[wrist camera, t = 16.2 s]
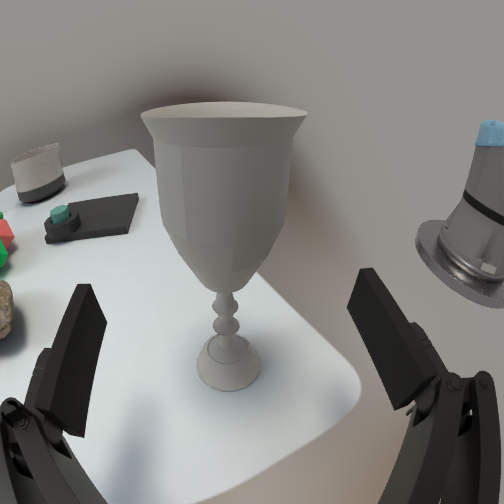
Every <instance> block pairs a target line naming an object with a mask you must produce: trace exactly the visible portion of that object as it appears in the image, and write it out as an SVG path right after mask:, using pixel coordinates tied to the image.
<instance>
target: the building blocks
mask: <svg viewBox="0 0 504 504" xmlns="http://www.w3.org/2000/svg"><path fill="white" fill-rule="evenodd" d="M13 239H14V235H13V233H12V231H11V229H10V227H9V225H8V223H7V221H6V220H5V219H4V220H3V213H2V212H0V270H1V268H2V266H3V264H4V262H5V260H6V258H7V256H8V252H7V249H8V248H9V246H10V244H11V242H12V240H13Z"/></svg>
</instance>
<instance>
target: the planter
mask: <svg viewBox="0 0 504 504" xmlns="http://www.w3.org/2000/svg"><path fill="white" fill-rule="evenodd" d="M11 168H12V173H13V177H14V181H15V185H16V189H17V193H18V197H19V200H20V201H22V202H36V201H40V200H42V199H45V198H47V197H49V196H51V195H52V194H54V193H55V192H56V191H57V190H58V189H59V188H60V187H61V186H62V185H63V184H64V183H65V177H64V172H63V167H62V162H61V156H60V150H59V145H58V144H51V145H47V146H43V147H40V148H37V149H34V150H32V151H30V152H27V153H25V154H23V155H21V156H19V157H17V158H16V159H14V160H13V161H11Z"/></svg>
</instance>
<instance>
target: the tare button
mask: <svg viewBox="0 0 504 504" xmlns="http://www.w3.org/2000/svg"><path fill="white" fill-rule="evenodd" d="M50 215H51V218H52V222H53V224H58V223H61V222H63V221H66V220H67V219H68V218H70V215H69V211H68V207H67V206H66V205H62V206H58V207H56V208H54V209H53V210H52V211H51V212H50Z"/></svg>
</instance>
